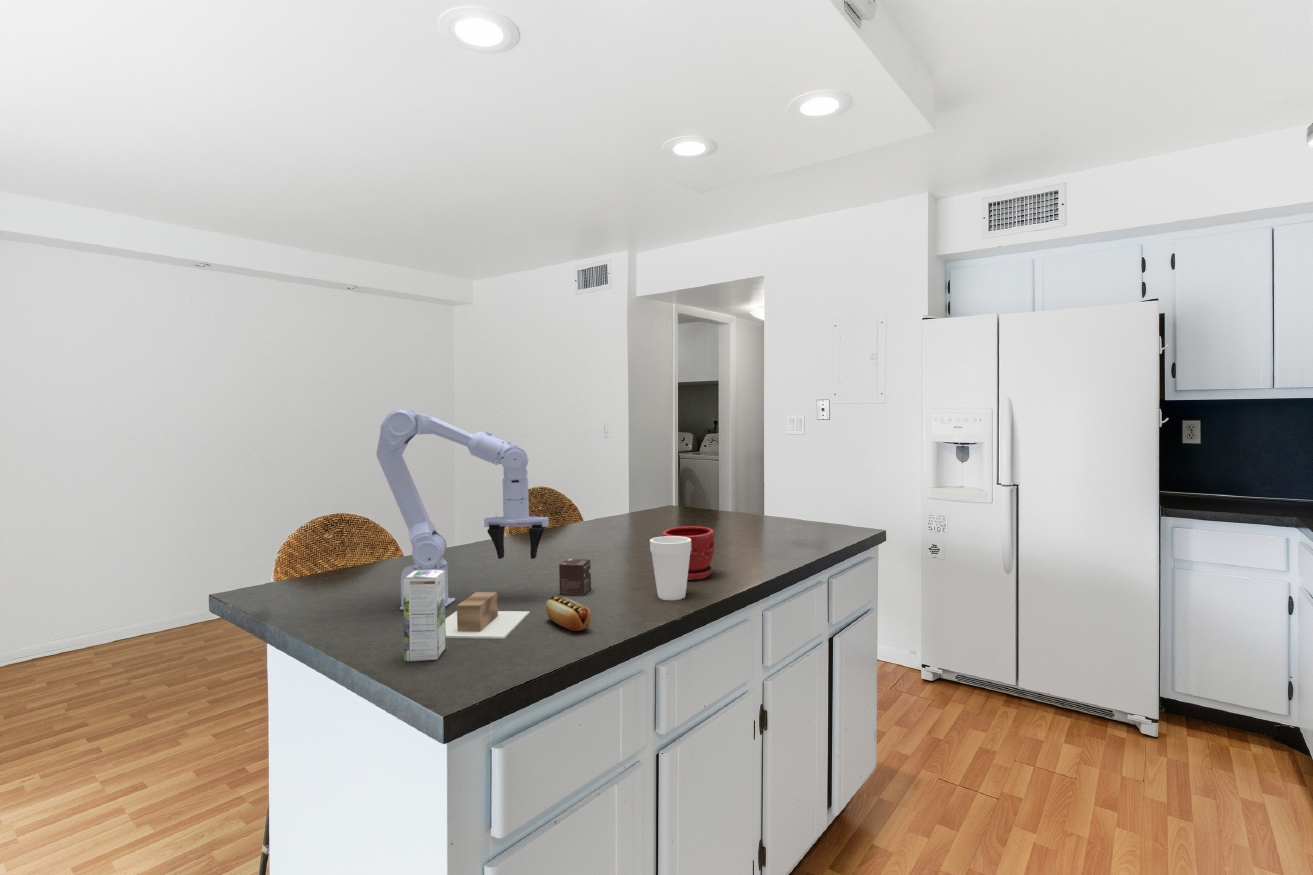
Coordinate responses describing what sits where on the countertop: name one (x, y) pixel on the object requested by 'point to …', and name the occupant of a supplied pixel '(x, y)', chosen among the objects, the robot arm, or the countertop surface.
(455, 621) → the mat
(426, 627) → the syrup box
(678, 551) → the foam cup
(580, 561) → the box
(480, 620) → the wooden block
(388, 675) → the countertop surface
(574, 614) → the hot dog
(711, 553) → the plant pot
